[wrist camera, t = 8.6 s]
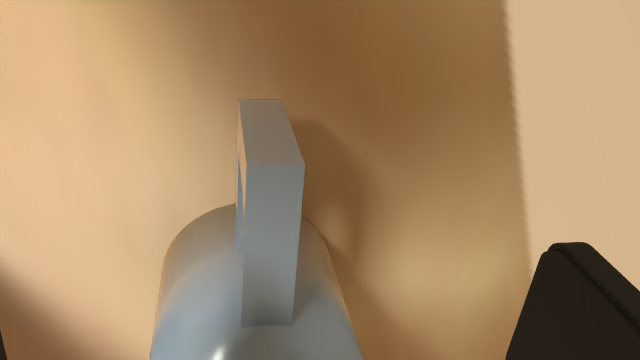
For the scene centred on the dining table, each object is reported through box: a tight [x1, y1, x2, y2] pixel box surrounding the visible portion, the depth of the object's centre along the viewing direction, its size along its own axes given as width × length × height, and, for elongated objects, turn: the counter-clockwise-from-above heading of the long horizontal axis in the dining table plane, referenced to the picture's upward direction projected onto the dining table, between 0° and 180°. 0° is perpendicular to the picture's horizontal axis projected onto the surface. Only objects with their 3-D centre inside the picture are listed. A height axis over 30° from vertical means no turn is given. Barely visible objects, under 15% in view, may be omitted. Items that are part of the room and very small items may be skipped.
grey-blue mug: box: [149, 99, 364, 360], centre depth 21 cm, size 14×8×9 cm, turn 175°
